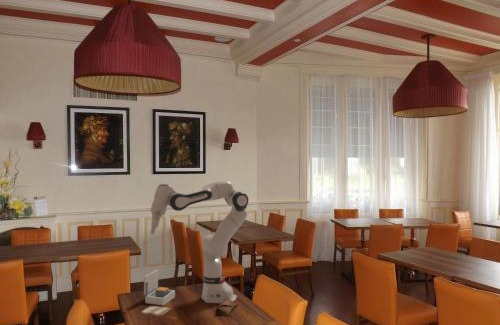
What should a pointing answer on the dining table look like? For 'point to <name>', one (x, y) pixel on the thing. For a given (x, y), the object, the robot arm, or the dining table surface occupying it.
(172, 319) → the dining table surface
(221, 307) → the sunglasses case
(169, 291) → the case
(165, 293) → the block
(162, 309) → the birch board
